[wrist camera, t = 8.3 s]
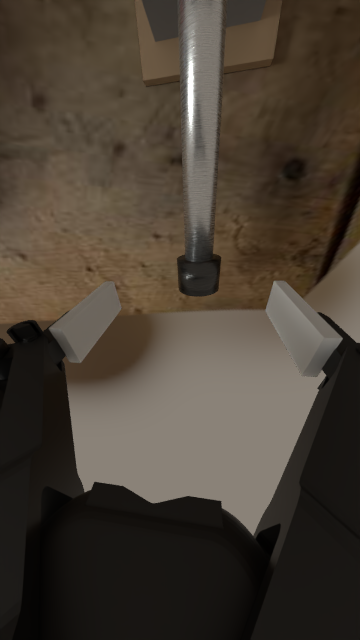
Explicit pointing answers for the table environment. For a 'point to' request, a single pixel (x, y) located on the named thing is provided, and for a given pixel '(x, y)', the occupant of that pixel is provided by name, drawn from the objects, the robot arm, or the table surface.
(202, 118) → the shaft
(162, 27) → the bearing frame
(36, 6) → the table surface
